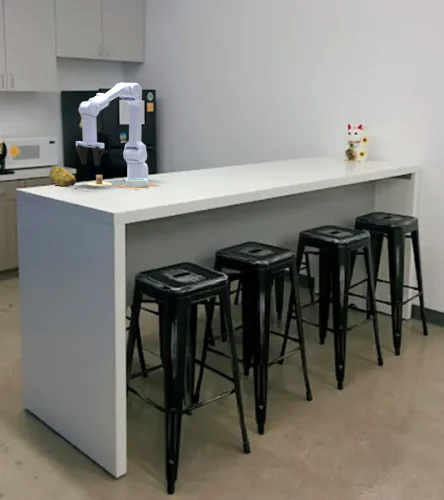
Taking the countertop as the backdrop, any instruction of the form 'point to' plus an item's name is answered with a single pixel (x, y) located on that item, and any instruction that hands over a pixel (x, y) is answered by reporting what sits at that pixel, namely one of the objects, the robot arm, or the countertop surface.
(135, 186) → the bowl
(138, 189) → the board
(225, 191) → the countertop surface
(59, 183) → the potato
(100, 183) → the lid
